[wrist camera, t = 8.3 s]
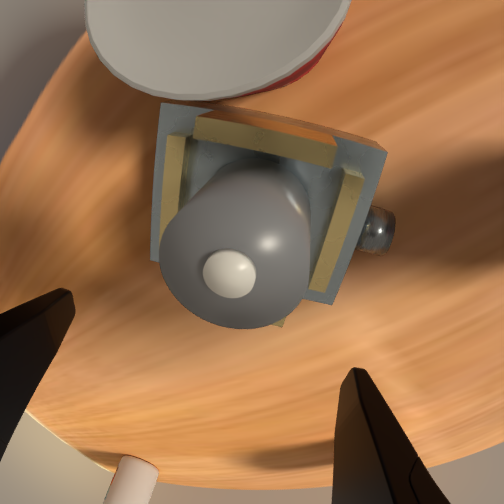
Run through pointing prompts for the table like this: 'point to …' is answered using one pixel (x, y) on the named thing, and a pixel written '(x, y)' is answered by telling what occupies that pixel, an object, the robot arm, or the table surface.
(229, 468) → the table surface
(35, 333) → the robot arm
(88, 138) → the table surface
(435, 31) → the table surface
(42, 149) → the table surface
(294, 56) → the canned food
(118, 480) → the milk bottle
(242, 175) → the grey rounded piece
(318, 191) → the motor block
